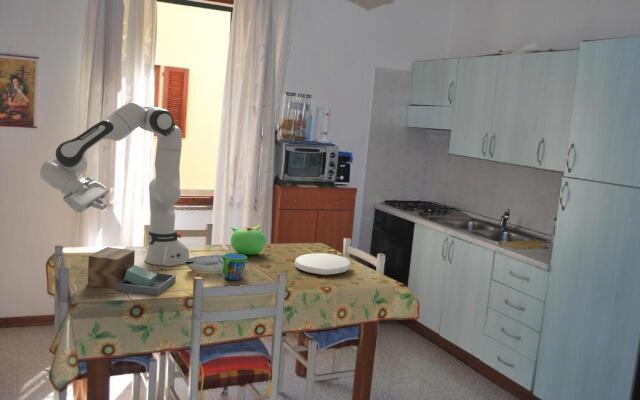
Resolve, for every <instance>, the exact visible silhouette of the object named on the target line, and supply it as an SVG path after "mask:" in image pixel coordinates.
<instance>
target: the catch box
mask: <svg viewBox="0 0 640 400" xmlns="http://www.w3.org/2000/svg"><path fill="white" fill-rule="evenodd" d="M152 272H153V273H155V274H157V276H156V279H155V282H154V283H153V284H152V285H151V286H149V287H146V286H139V285H137V284H134V283H132V282H129V281H127V280H124V279H122V280H121V281H119V282H117V283H116V289H115V291H116V292H123V293H132V294H137V295H138V294H139V295H146V296H153V297H154V296H155V297H159V296H160V295H161V294H163V293H164V291H166V290H167V289H168V288H170V287H172V285H174V284H175V283H176V282H177V281H176V279H177V275H176V274H170V273H163V272H162V273H160V272H156V271H155V272H154V271H152Z"/></svg>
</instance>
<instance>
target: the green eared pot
mask: <svg viewBox="0 0 640 400" xmlns="http://www.w3.org/2000/svg"><path fill="white" fill-rule="evenodd" d="M261 228H262V225H257V226H255V227H250V226H249V227H248V226H247V227H242V228H238V227H234V226H232V227H231V228H230V229H231V230H232V232H233V233H232V234H231V237H230V246H231V247H232V249H233V250H234V251H235V252H237V254H242V255H245V256H252V255H257V254H259V253H261V252H262V251H264V249H265V247H266V244H267V240H266V236H265V234H264V233H263V232H262V231H261Z"/></svg>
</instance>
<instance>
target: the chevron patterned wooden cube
mask: <svg viewBox="0 0 640 400" xmlns="http://www.w3.org/2000/svg"><path fill="white" fill-rule="evenodd" d="M135 251H136V250H134V249H133V250H132V249H126V248H117V247H107V246H106V247H104V248H103V249H100V250H98V251H96V252H94V253H92V254H91V255H88V262H87V263H88V264H87V265H88V266H87V287H88V286H89V287H97V288H104V289H112V290H116V283H117V282H119V281H121V280H122V279H124V277H125V274H126V271H127V270H128V269H129V268H131V267H133V266H134V265H135V253H136V252H135Z"/></svg>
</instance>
